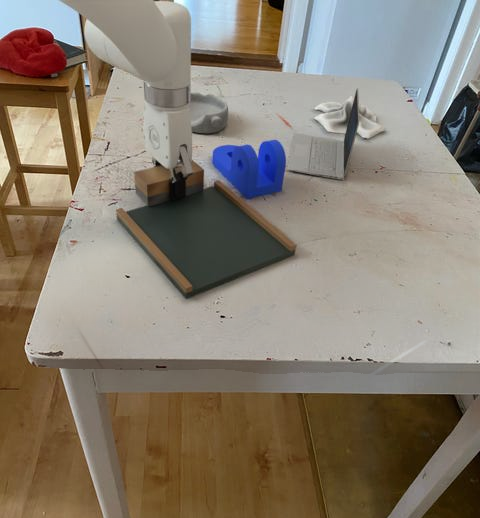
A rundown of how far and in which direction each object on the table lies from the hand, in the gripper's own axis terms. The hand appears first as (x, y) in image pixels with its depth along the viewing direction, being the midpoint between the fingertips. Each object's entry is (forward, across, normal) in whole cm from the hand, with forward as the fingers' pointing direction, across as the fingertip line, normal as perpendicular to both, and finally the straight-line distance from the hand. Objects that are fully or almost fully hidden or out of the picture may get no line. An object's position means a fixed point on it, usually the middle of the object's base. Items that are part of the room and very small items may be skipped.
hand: (169, 190), depth 90 cm
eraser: (0, 0, 0) cm, 0 cm away
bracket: (+2, -1, +18) cm, 18 cm away
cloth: (+2, -12, +60) cm, 61 cm away
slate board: (+2, +14, -1) cm, 14 cm away
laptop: (+2, +1, +38) cm, 38 cm away
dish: (+2, -26, +23) cm, 35 cm away
